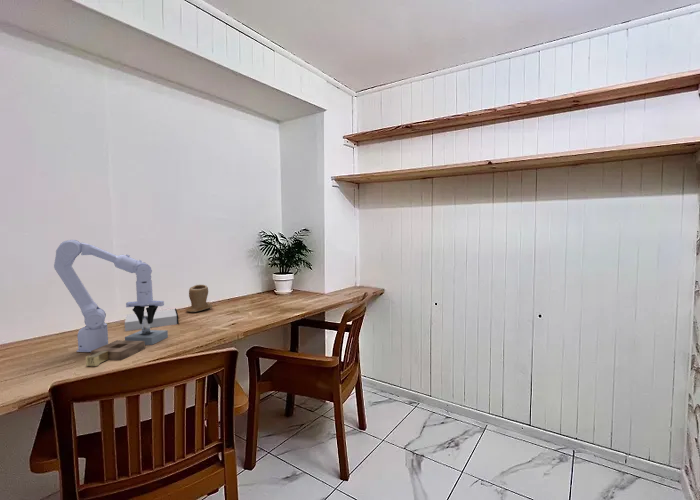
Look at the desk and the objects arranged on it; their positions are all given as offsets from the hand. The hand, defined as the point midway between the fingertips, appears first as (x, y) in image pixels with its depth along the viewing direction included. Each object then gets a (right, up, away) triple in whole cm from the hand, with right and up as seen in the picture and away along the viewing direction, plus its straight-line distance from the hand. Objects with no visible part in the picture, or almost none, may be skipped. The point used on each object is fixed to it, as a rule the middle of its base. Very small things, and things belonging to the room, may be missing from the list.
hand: (146, 323), depth 144 cm
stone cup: (-1, -4, +54) cm, 54 cm away
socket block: (-2, -8, -14) cm, 17 cm away
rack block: (0, -7, 0) cm, 8 cm away
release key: (-3, -9, -24) cm, 25 cm away
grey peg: (0, -5, 0) cm, 5 cm away
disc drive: (-13, -7, +28) cm, 31 cm away
